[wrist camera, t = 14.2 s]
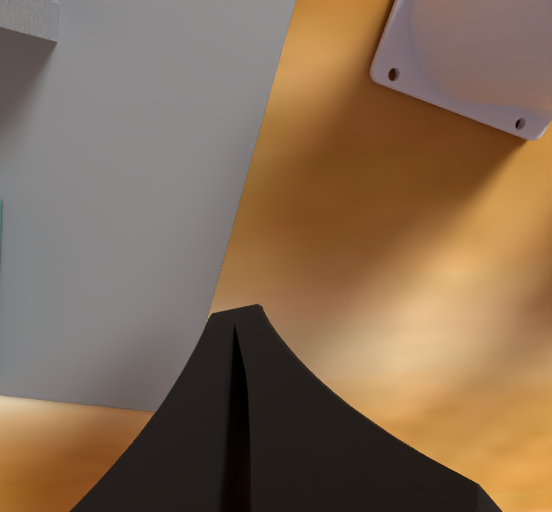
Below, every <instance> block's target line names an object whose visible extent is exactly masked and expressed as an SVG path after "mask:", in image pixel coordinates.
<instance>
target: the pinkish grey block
mask: <svg viewBox="0 0 552 512" xmlns="http://www.w3.org/2000/svg"><path fill="white" fill-rule="evenodd" d="M60 6H61V5H59V4H58V3H56V2H54V1H52V0H0V27H3V28H7V29H10V30H14V31H18V32H22V33H26V34H29V35H33V36H37V37H41V38H44V39H48V40H52V41H56V42H58V32H59V19H60Z"/></svg>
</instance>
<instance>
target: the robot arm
mask: <svg viewBox="0 0 552 512" xmlns="http://www.w3.org/2000/svg"><path fill="white" fill-rule="evenodd" d="M392 68H393V69H394V70H395V72H396V77H395V78H394V80H392V81H391V80H389V77H388V73H389V71H390V70H391V69H392ZM370 77H371V78H372V80H373V81H374V82H376V83H378V84H380V85H383V86H386V87H388V88H391V89H393V90H396V91H399V92H401V93H404V94H407V95H409V96H412V97H415V98H417V99H420V100H423V101H425V102H428V103H431V104H433V105H436V106H439V107H441V108H444V109H446V110H449V111H452V112H454V113H457V114H460V115H462V116H465V117H468V118H470V119H473V120H476V121H478V122H481V123H484V124H486V125H489V126H491V127H494V128H497V129H499V130H502V131H505V132H507V133H510V134H513V135H515V136H518V137H521V138H523V139H526V140H533V141H534V140H537V139H539V138H540V137H541V136H542V135H543V133H544V132H545V130H546V128H547V126H548V124H549V123H550V121H552V0H395V2H394V5H393V7H392V10H391V13H390V15H389V18H388V21H387V24H386V26H385V29H384V32H383V35H382V37H381V40H380V43H379V46H378V48H377V51H376V54H375V57H374V59H373V62H372V65H371V68H370ZM518 119H519V120H520V123H519V125H518V126H517V127H515V124H516V122H517V120H518ZM70 512H502V511H501V509H500V508H499V507H498V506H497V505H496V503H495V502H494V501H493V500H492V499H491V498H490V496H489V495H488V494H487V493H486V492H485V491H484V490H483V488H482V487H481V486H480V485H479V484H477V483H476V482H474V481H472V480H470V479H468V478H466V477H464V476H462V475H461V474H459V473H457V472H455V471H453V470H451V469H449V468H447V467H445V466H444V465H442V464H440V463H438V462H436V461H434V460H433V459H431V458H429V457H427V456H426V455H424V454H422V453H420V452H419V451H417V450H415V449H414V448H412V447H410V446H409V445H407V444H406V443H404V442H402V441H401V440H399V439H398V438H396V437H394V436H393V435H391V434H390V433H388V432H387V431H385V430H384V429H382V428H381V427H380V426H378V425H377V424H375V423H374V422H372V421H371V420H370V419H368V418H367V417H365V416H364V415H362V414H361V413H360V412H358V411H357V410H355V409H354V408H353V407H351V406H350V405H349V404H348V403H346V402H345V401H344V400H343V399H341V398H340V397H339V396H338V395H336V394H335V393H334V392H333V391H332V390H331V389H329V388H328V387H327V386H326V385H325V384H324V383H323V382H321V381H320V380H319V379H318V378H317V377H316V376H315V375H314V374H313V373H312V372H311V371H310V370H309V369H308V368H307V367H306V366H305V365H304V364H303V363H302V362H301V361H300V360H299V359H298V358H297V356H296V355H295V354H294V353H293V352H292V351H291V350H290V348H289V347H288V346H287V345H286V343H285V342H284V341H283V340H282V339H281V337H280V336H279V335H278V333H277V332H276V331H275V329H274V328H273V326H272V325H271V323H270V322H269V320H268V318H267V316H266V315H265V312H264V310H263V307H262V306H260V305H259V304H255V305H250V306H246V307H241V308H236V309H231V310H226V311H222V312H217V313H212V315H211V316H210V317H209V319H208V321H207V324H206V326H205V328H204V330H203V333H202V335H201V337H200V339H199V341H198V343H197V345H196V347H195V349H194V350H193V352H192V354H191V356H190V358H189V360H188V361H187V363H186V365H185V367H184V369H183V370H182V372H181V374H180V375H179V377H178V379H177V380H176V382H175V383H174V385H173V387H172V388H171V390H170V391H169V393H168V395H167V396H166V398H165V399H164V401H163V402H162V404H161V405H160V407H159V408H158V410H157V411H156V412H155V414H154V415H153V417H152V418H151V419H150V421H149V422H148V423H147V425H146V426H145V427H144V429H143V430H142V431H141V433H140V434H139V435H138V436H137V438H136V439H135V440H134V441H133V443H132V444H131V445H130V446H129V447H128V449H127V450H126V451H125V452H124V453H123V454H122V456H121V457H120V458H119V459H118V460H117V461H116V462H115V464H114V465H113V466H112V467H111V468H110V469H109V470H108V472H107V473H106V474H105V475H104V476H103V477H102V478H101V480H100V481H99V482H98V483H97V484H96V485H95V486H94V487H93V488H92V489H91V490H90V491H89V492H88V493H87V494H86V495H85V496H84V497H83V498H82V499H81V501H80V502H79V503H78V504H77V505H76V506H75V507H74V508H73V509H72V510H71V511H70Z"/></svg>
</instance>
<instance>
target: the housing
mask: <svg viewBox="0 0 552 512" xmlns="http://www.w3.org/2000/svg"><path fill="white" fill-rule="evenodd" d="M1 208H2V199H0V239H1Z"/></svg>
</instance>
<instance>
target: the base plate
mask: <svg viewBox="0 0 552 512" xmlns="http://www.w3.org/2000/svg"><path fill="white" fill-rule="evenodd" d="M52 1H54V2H56V3H58V4H59V5H61V6H60V19H59V32H58V42H56V41H52V40H48V39H44V38H41V37H37V36H33V35H29V34H26V33H22V32H18V31H14V30H10V29H7V28H3V27H0V199H2V208H1V239H0V395H3V396H12V397H21V398H30V399H39V400H48V401H58V402H67V403H76V404H85V405H94V406H103V407H112V408H122V409H131V410H140V411H149V412H156V411H157V410H158V408H159V407H160V405H161V404H162V402H163V401H164V399H165V398H166V396H167V395H168V393H169V391H170V390H171V388H172V387H173V385H174V383H175V382H176V380H177V379H178V377H179V375H180V374H181V372H182V370H183V369H184V367H185V365H186V363H187V361H188V360H189V358H190V356H191V354H192V352H193V350H194V349H195V347H196V345H197V343H198V341H199V339H200V337H201V335H202V333H203V330H204V328H205V324H206V320H207V317H208V313H209V310H210V306H211V303H212V299H213V295H214V292H215V288H216V285H217V281H218V277H219V274H220V270H221V267H222V263H223V260H224V256H225V252H226V249H227V245H228V242H229V238H230V235H231V231H232V227H233V224H234V220H235V217H236V213H237V209H238V206H239V202H240V199H241V195H242V192H243V188H244V184H245V181H246V177H247V174H248V170H249V167H250V163H251V159H252V156H253V152H254V149H255V145H256V141H257V138H258V134H259V131H260V127H261V124H262V120H263V116H264V113H265V109H266V106H267V102H268V99H269V95H270V91H271V88H272V84H273V81H274V77H275V73H276V70H277V66H278V63H279V59H280V56H281V52H282V48H283V45H284V41H285V38H286V34H287V31H288V27H289V23H290V20H291V16H292V13H293V9H294V5H295V2H296V0H52Z"/></svg>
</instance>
